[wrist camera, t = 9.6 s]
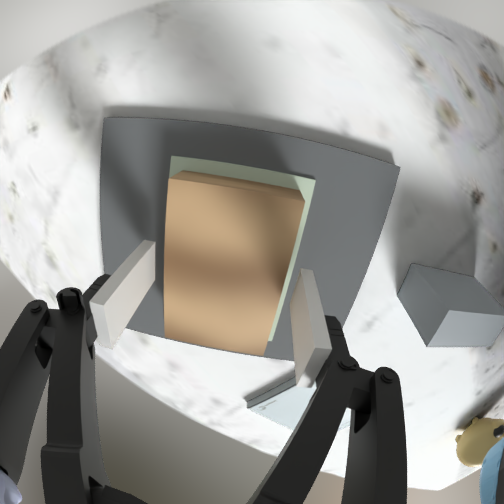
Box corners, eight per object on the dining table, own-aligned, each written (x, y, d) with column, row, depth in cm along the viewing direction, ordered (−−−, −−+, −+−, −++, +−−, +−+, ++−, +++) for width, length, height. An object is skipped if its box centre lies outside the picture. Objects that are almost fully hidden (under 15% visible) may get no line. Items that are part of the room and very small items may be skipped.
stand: (474, 277, 19) (510, 316, 13) (460, 304, 20) (491, 346, 15) (411, 263, 19) (449, 310, 13) (397, 295, 20) (426, 347, 14)
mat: (395, 165, 16) (401, 167, 15) (323, 357, 23) (324, 365, 22) (110, 117, 15) (102, 117, 14) (115, 318, 23) (111, 325, 22)
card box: (264, 332, 21) (263, 356, 18) (174, 315, 20) (164, 337, 18) (299, 190, 16) (305, 201, 14) (182, 170, 16) (168, 178, 13)
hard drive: (245, 409, 26) (315, 441, 29) (308, 378, 23) (370, 416, 26) (246, 397, 27) (314, 431, 31) (306, 365, 24) (367, 406, 28)
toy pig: (501, 405, 31) (517, 441, 22) (458, 438, 36) (470, 474, 26) (493, 398, 29) (512, 440, 20) (444, 435, 34) (457, 477, 24)
